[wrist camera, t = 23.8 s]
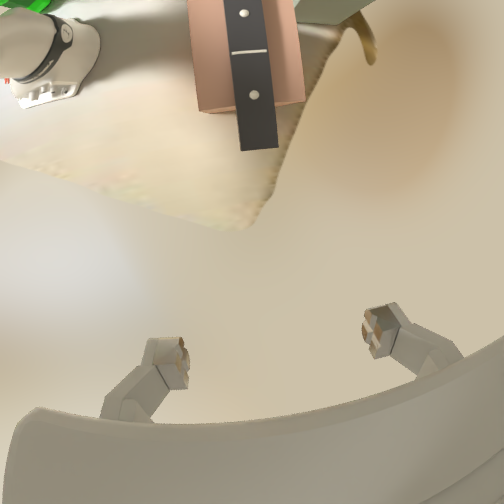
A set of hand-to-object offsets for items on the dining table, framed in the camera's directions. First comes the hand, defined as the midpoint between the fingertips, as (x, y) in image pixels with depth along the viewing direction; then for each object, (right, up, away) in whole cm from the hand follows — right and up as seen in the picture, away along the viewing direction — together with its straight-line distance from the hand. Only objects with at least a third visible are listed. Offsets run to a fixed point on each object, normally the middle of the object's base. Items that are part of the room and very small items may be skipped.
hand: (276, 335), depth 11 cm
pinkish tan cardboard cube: (-3, +35, +28) cm, 45 cm away
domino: (-2, +25, +13) cm, 28 cm away
